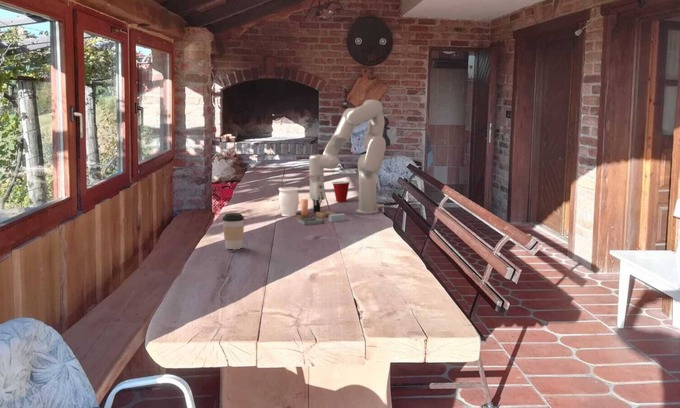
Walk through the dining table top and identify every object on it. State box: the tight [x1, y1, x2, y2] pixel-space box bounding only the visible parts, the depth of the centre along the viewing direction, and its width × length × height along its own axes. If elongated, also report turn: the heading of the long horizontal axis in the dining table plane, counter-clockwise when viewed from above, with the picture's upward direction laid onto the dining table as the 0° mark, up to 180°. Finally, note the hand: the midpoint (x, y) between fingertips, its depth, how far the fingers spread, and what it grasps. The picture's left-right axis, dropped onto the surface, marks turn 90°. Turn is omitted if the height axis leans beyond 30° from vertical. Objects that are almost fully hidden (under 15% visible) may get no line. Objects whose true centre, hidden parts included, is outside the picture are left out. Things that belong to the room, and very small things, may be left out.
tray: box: [296, 216, 325, 226], centre depth 333 cm, size 10×9×2 cm
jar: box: [278, 186, 300, 217], centre depth 353 cm, size 11×10×15 cm
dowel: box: [300, 198, 309, 217], centre depth 341 cm, size 3×3×10 cm
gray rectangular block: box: [328, 213, 347, 223], centre depth 338 cm, size 8×3×4 cm, turn 117°
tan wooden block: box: [314, 210, 337, 219], centre depth 351 cm, size 8×8×3 cm
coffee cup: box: [222, 212, 245, 250], centre depth 284 cm, size 9×9×15 cm
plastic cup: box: [331, 180, 351, 203], centre depth 398 cm, size 11×11×12 cm
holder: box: [295, 213, 313, 221], centre depth 342 cm, size 8×8×3 cm
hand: (316, 212), depth 359 cm, fingers closed
